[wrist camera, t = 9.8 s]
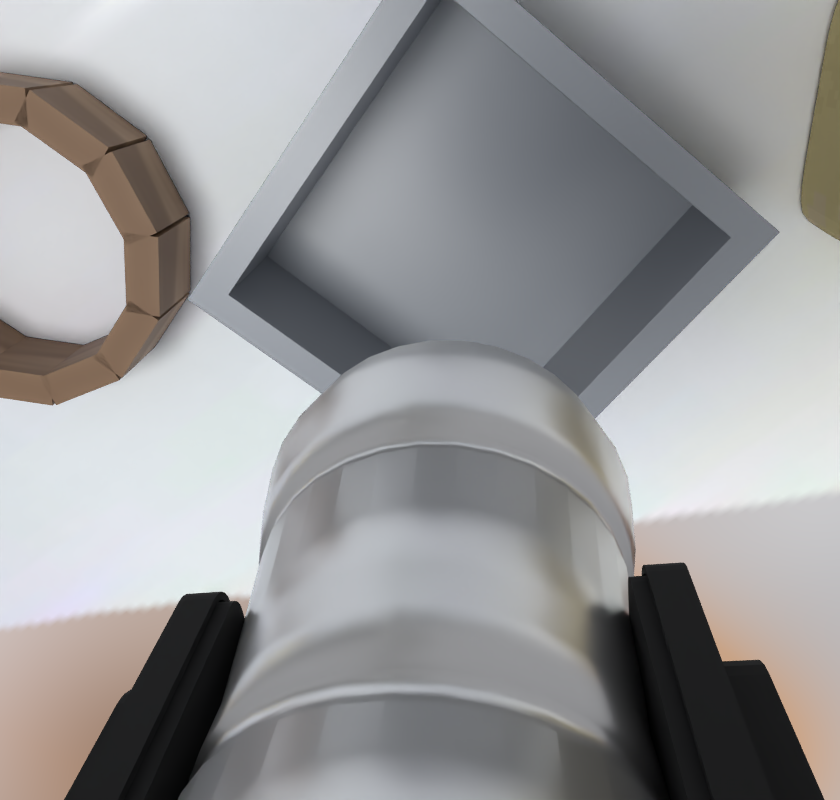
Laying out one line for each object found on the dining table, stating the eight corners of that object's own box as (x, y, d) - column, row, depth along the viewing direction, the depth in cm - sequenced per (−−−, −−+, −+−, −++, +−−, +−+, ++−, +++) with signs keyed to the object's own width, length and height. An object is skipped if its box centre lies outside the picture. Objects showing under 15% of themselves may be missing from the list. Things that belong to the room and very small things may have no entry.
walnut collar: (-32, 3, 34) (-94, 0, 30) (244, 208, 37) (218, 227, 33) (-140, 257, 39) (-204, 280, 36) (108, 418, 42) (72, 455, 38)
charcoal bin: (441, -53, 32) (430, -74, 25) (726, 196, 35) (779, 231, 28) (237, 254, 38) (187, 299, 31) (496, 442, 41) (497, 516, 35)
